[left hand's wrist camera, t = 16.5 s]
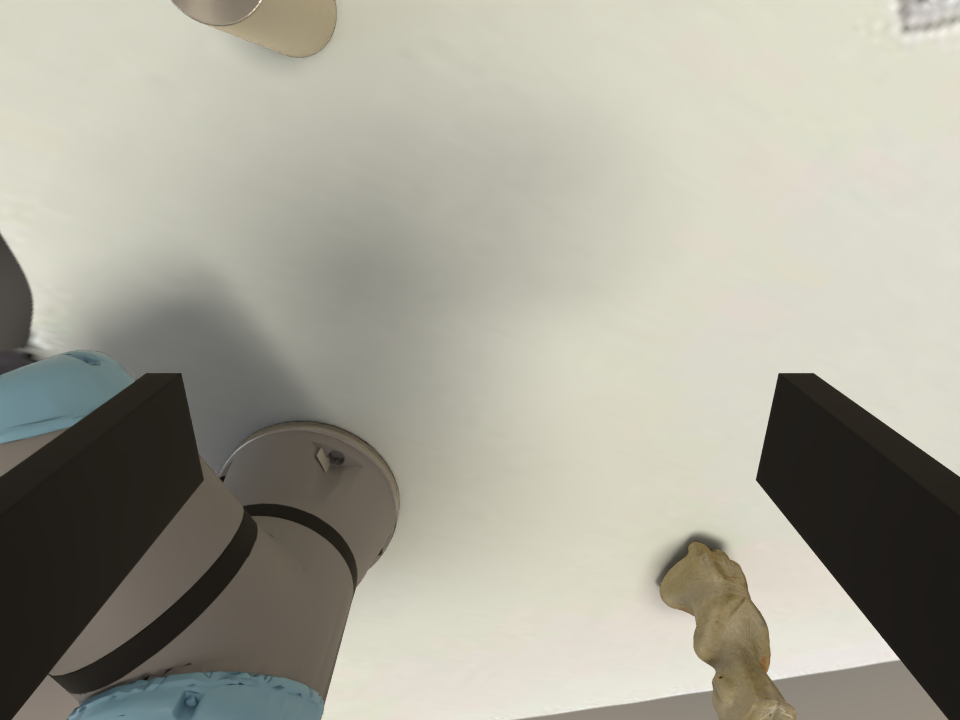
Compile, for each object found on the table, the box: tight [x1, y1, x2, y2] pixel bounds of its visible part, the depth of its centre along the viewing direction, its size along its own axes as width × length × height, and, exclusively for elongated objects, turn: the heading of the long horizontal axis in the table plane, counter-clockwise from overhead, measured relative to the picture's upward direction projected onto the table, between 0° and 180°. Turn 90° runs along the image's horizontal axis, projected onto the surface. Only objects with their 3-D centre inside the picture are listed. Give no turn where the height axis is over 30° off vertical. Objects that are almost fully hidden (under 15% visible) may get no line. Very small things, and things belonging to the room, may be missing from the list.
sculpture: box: [660, 542, 796, 720], centre depth 44 cm, size 6×7×15 cm
